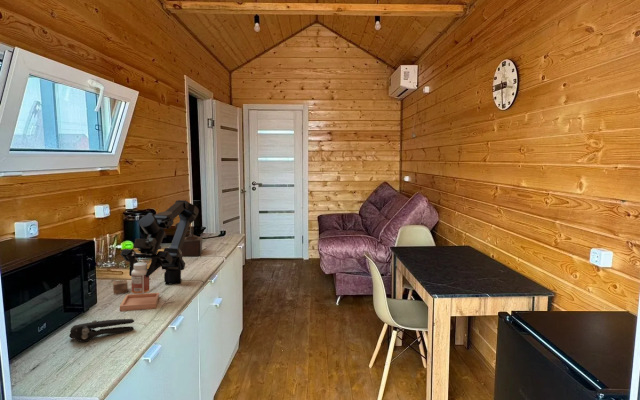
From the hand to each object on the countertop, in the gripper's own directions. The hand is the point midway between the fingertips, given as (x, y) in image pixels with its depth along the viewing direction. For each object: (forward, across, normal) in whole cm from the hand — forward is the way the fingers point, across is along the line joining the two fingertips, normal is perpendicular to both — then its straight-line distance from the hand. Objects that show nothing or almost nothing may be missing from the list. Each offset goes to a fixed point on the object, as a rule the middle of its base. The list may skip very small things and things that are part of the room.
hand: (138, 276), depth 143 cm
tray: (+7, 0, +9) cm, 11 cm away
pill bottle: (+4, 0, +6) cm, 7 cm away
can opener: (+26, +4, -10) cm, 28 cm away
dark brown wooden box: (-45, -16, +62) cm, 78 cm away
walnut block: (0, -16, +16) cm, 23 cm away
